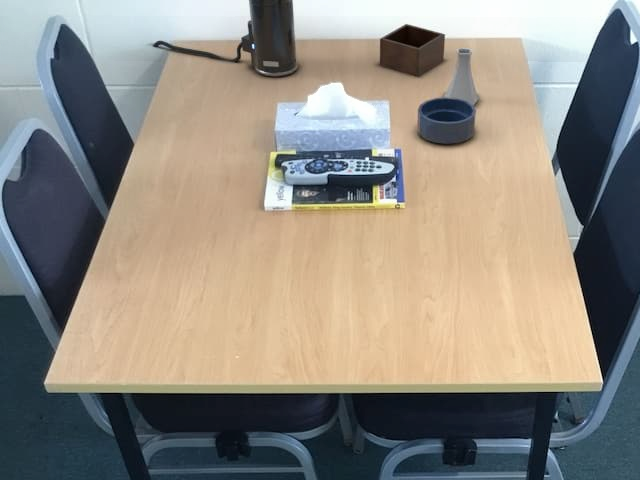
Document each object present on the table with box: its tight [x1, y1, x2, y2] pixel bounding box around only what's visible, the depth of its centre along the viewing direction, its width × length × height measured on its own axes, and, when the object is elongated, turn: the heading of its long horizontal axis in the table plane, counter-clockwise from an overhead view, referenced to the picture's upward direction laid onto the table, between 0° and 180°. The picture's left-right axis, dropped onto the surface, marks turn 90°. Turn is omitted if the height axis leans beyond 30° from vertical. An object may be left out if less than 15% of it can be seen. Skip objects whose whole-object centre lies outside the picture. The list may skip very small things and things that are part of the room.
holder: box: [379, 23, 446, 77], centre depth 191 cm, size 10×10×6 cm
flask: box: [443, 47, 479, 107], centre depth 177 cm, size 7×7×10 cm
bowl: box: [416, 96, 477, 145], centre depth 170 cm, size 11×11×4 cm
